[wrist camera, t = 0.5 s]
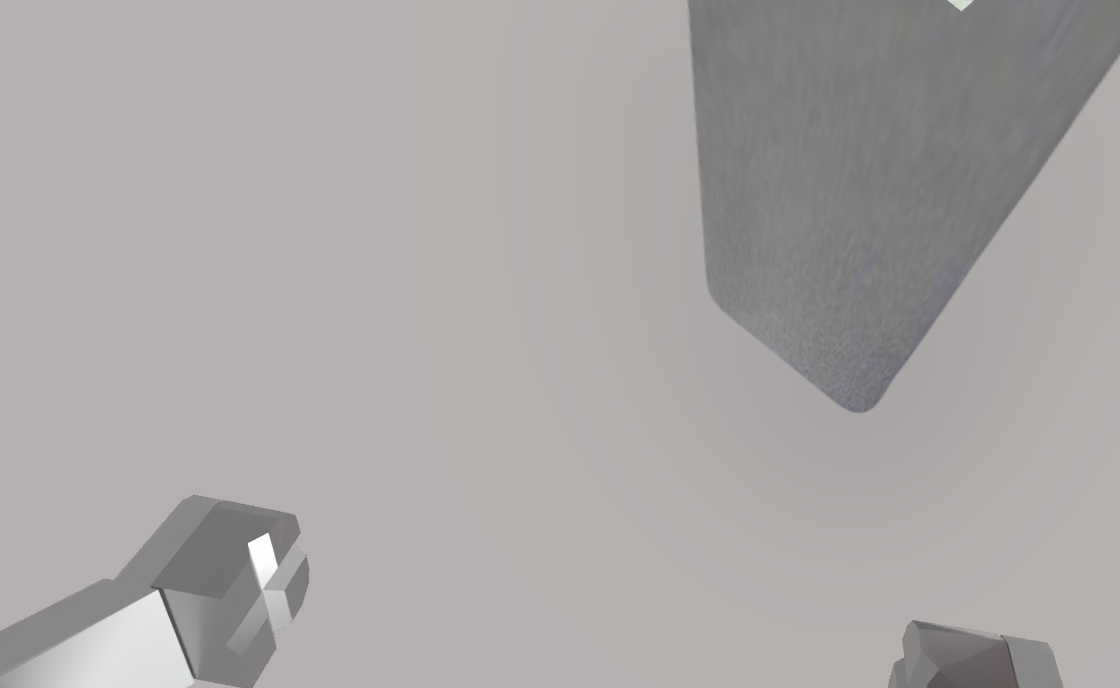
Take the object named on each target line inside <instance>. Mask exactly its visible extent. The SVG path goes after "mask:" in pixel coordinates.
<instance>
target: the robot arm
mask: <svg viewBox="0 0 1120 688" xmlns="http://www.w3.org/2000/svg"><path fill="white" fill-rule="evenodd" d="M299 534H300V529H299V525H298V522H297V519H296V516H295V515H292V514H289V513H285V512H280V511H275V510H270V509H265V508H260V507H255V506H250V505H245V504H240V503H235V502H231V501H226V500H225V501H224V500H219V499H214V498H208V497H203V496H198V495H192V496H190V497H189V498H186V499H185V500H183V501H182V502H181V503H180V504H179V505H178V506H177V507H176V508H175V509H174V511H173V512H172V513H171V514H170V515H169V516H168V518H167V519H166V520H165V521H164V522H163V523H162V525H161V526H160V527H159V528H158V529H157V530H156V532H155V533H154V534H153V535H152V536H151V537H150V539H149V540H148V541H147V542H146V543H145V544H144V545H143V547H142V548H141V549H140V550H139V551H138V553H137V554H136V555H135V556H134V557H133V558H132V559H131V561H130V562H129V563H128V564H127V565H126V566H125V568H124V569H123V570H122V571H121V572H120V573H119V575H118V576H117V577H116V578H115V579H114V580H109V579H102V580H100V581H98V582H97V583H95V584H93V585H91V586H89V587H87V588H85V589H83V590H81V591H79V592H77V593H75V594H73V595H71V596H69V597H67V598H65V599H63V600H61V601H59V602H57V603H55V604H53V605H51V606H49V607H47V608H45V609H43V610H41V611H39V612H37V613H35V614H33V615H31V616H29V617H27V618H25V619H24V620H21V621H19V622H17V623H15V624H13V625H12V626H10V627H8V628H5V629H3V630H1V631H0V688H188V687H189V686H190V685H192V684H193V683H194V679H198V680H204V681H209V682H214V683H220V684H225V685H231V686H236V687H241V688H253V686H254V684H255V683H256V681H257V680H258V678H259V676H260V675H261V673H262V671H263V669H264V668H265V666H266V664H267V663H268V661H269V660H270V658H271V656H272V655H273V653H274V651H275V650H276V643H275V636H274V632H276V631H278V630H279V629H281V628H283V627H284V626H286V625H287V624H289V623H291V622H292V621H293V619H294V618H295V616H296V614H297V612H298V611H299V609H300V607H301V605H302V603H303V600H304V596H305V593H306V590H307V587H308V583H309V566H308V562H307V557H306V554H304V552H303V551H302V550H301V549H300V548H299V547H298V546H297V545H296V544H295V543H294V542H295V541H296V539H297V537H298V536H299ZM902 640H903V649H904V658H902V659H901V660H899V661H897V662H895V663H894V666H893V669H892V673H891V676H890V679H889V685H888V688H1065V685H1064V682H1063V679H1062V676H1061V673H1060V669H1059V666H1058V663H1057V660H1056V656H1055V653H1054V651H1053V649H1052V648H1051V647H1050V646H1049V644H1048V643H1045V642H1039V641H1033V640H1027V639H1021V638H1015V637H1009V636H1004V635H1000V636H999V635H998V634H995V633H989V632H983V631H977V630H970V629H964V628H958V627H952V626H945V625H940V624H933V623H927V622H920V621H914V620H912V621H911V622H910V624H909V625H908V626H907V628H906V631H905V634H904V637H903V639H902Z"/></svg>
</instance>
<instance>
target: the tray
mask: <svg viewBox="0 0 1120 688" xmlns="http://www.w3.org/2000/svg"><path fill="white" fill-rule="evenodd" d="M948 1H949V2H950V3H952V4H953V5H954V6H956V7H957V8H958V9H959V10H961V11H962V10H963V9H964V8H966V7H967V6H968V5H969V4H970V3H971V2H972V1H973V0H948Z"/></svg>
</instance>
